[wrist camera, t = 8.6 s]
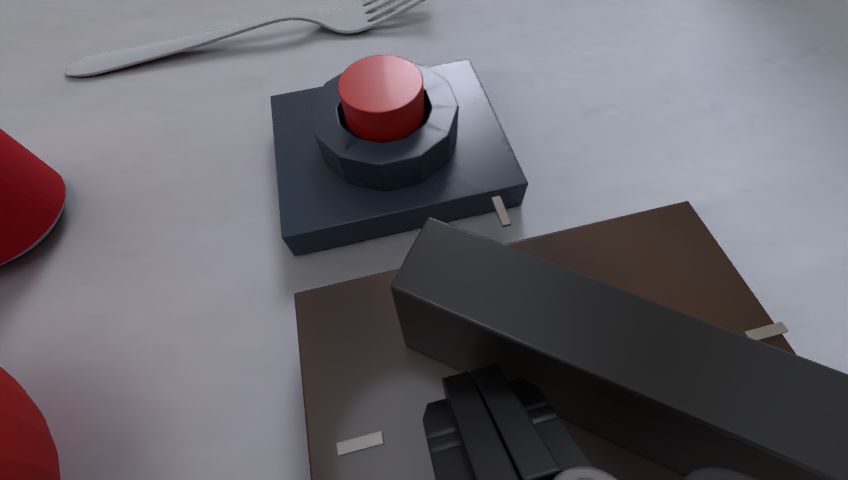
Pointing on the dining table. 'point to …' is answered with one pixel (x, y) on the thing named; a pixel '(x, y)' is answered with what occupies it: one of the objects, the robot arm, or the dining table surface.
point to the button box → (389, 164)
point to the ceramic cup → (24, 436)
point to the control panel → (422, 375)
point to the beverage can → (26, 199)
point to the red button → (382, 98)
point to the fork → (336, 20)
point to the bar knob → (623, 361)
